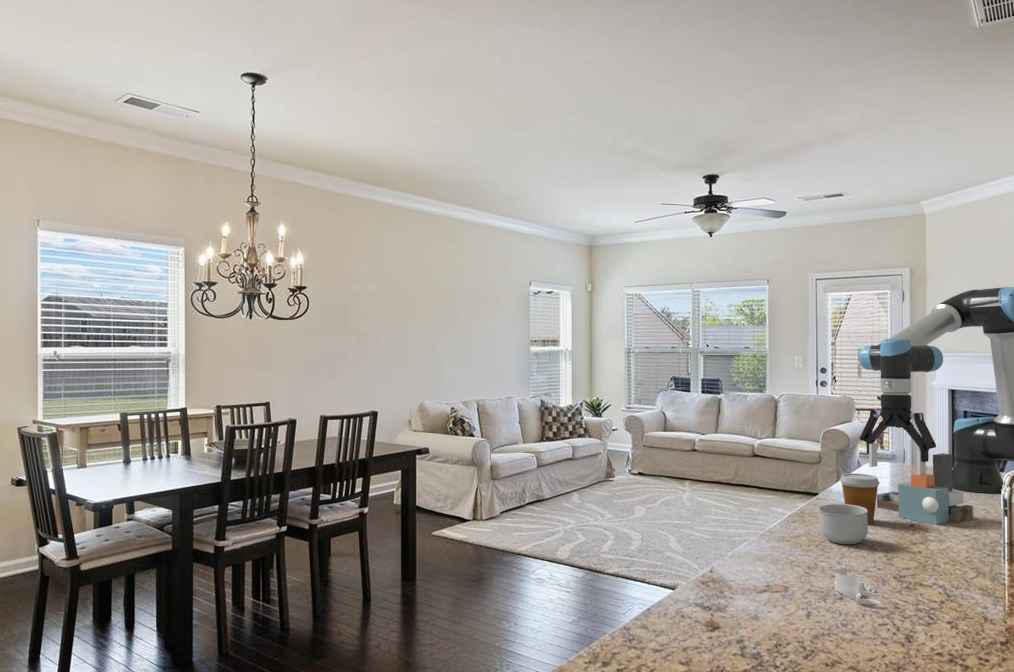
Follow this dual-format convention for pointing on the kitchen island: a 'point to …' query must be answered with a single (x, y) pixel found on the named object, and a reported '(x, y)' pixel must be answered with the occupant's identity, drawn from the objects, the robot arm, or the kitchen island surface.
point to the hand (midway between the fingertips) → (896, 470)
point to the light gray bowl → (843, 523)
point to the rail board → (896, 508)
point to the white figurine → (854, 587)
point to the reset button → (922, 480)
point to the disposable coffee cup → (861, 492)
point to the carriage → (946, 477)
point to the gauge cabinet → (923, 503)
